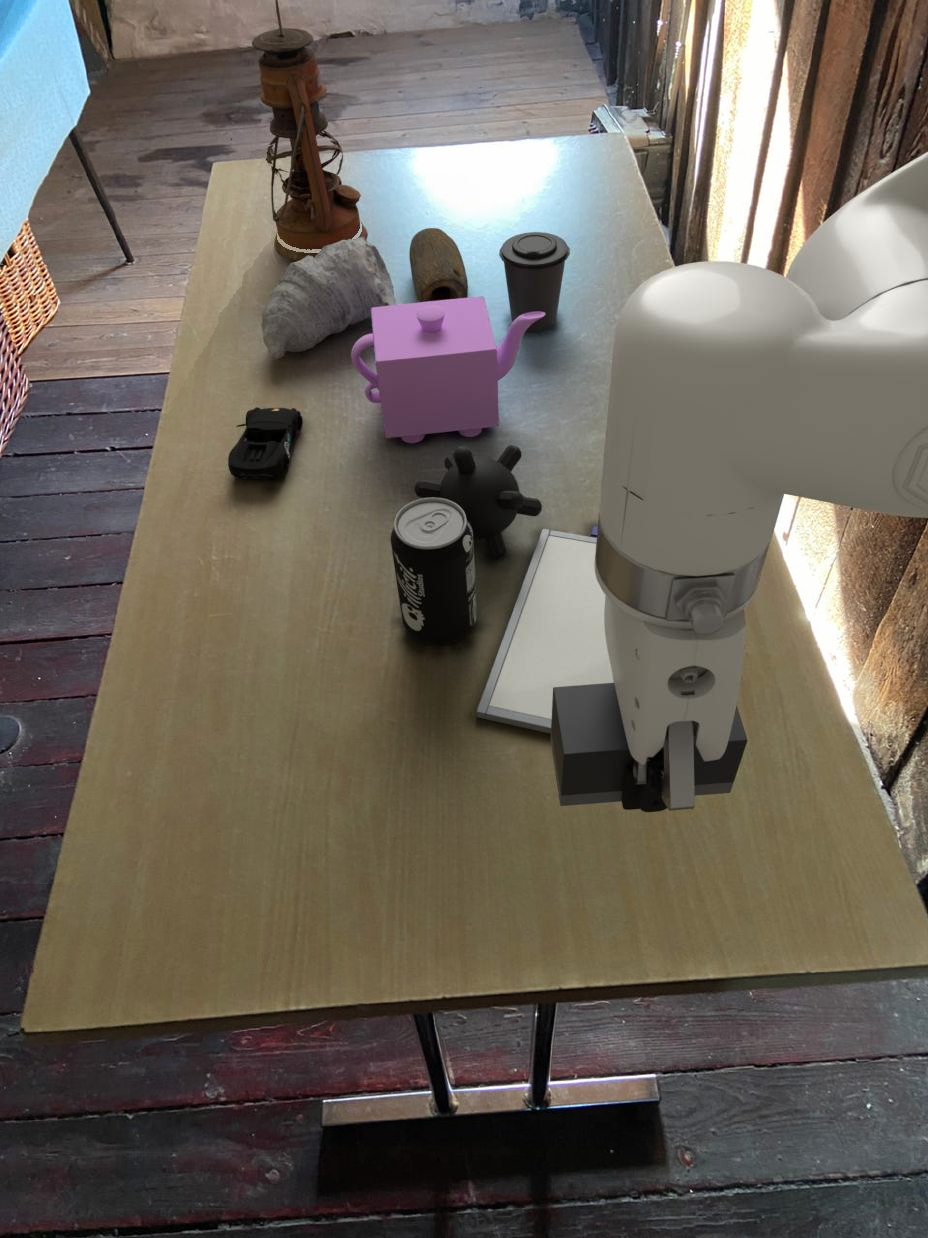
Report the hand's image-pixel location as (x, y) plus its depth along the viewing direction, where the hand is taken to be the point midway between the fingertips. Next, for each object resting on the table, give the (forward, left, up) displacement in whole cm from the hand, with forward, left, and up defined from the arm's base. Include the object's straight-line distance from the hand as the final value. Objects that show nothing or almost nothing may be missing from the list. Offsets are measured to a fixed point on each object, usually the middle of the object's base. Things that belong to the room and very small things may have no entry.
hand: (640, 762), depth 56 cm
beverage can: (+20, -19, -14) cm, 31 cm away
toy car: (+45, -37, -14) cm, 60 cm away
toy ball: (+20, -31, -14) cm, 39 cm away
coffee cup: (+24, -68, -14) cm, 73 cm away
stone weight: (+37, -71, -14) cm, 81 cm away
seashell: (+47, -60, -14) cm, 77 cm away
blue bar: (+7, -33, -14) cm, 37 cm away
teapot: (+28, -48, -14) cm, 57 cm away
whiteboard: (+6, -21, -14) cm, 26 cm away
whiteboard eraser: (0, 0, 0) cm, 0 cm away
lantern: (+58, -82, -14) cm, 101 cm away
